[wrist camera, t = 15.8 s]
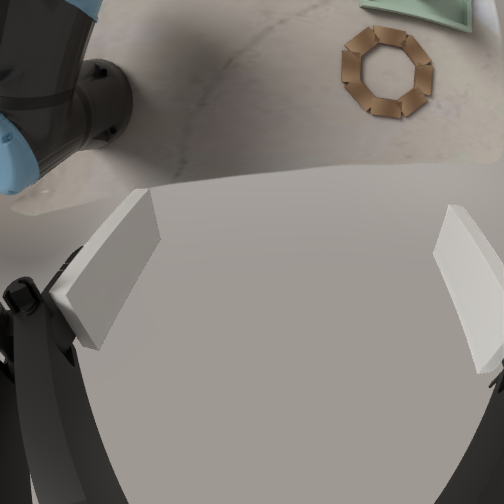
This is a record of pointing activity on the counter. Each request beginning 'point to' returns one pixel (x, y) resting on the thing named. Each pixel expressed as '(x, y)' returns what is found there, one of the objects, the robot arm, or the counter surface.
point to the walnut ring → (362, 93)
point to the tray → (429, 11)
